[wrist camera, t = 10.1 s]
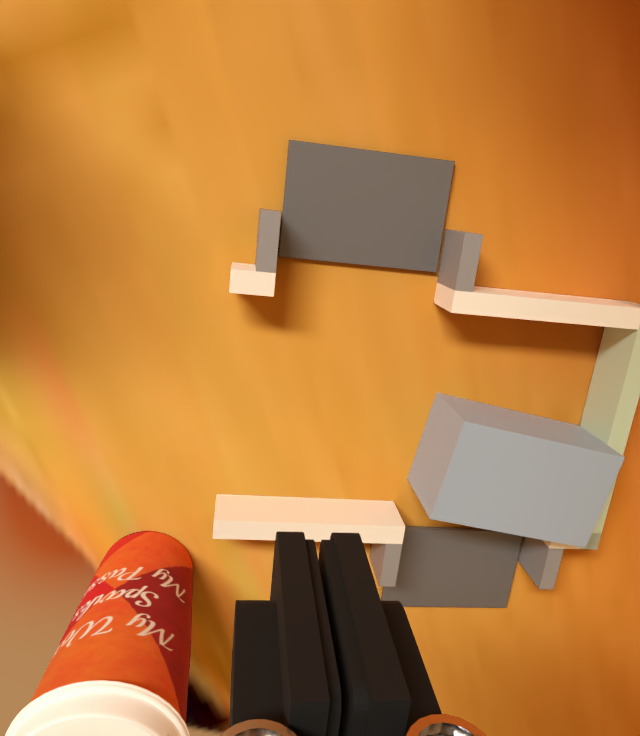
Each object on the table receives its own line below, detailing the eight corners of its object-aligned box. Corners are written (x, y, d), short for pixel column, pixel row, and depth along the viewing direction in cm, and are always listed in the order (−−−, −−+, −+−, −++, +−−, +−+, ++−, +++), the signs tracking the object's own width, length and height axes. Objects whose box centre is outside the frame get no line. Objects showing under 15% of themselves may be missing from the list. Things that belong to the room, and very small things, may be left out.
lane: (241, 133, 30) (240, 127, 27) (658, 188, 33) (697, 188, 30) (209, 600, 38) (206, 634, 35) (550, 605, 41) (573, 636, 38)
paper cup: (194, 503, 35) (162, 688, 22) (221, 605, 38) (207, 827, 24) (66, 530, 35) (-45, 736, 22) (102, 631, 37) (21, 873, 24)
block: (435, 391, 36) (464, 421, 31) (577, 424, 37) (625, 457, 33) (406, 477, 37) (429, 518, 32) (543, 504, 39) (585, 548, 34)
